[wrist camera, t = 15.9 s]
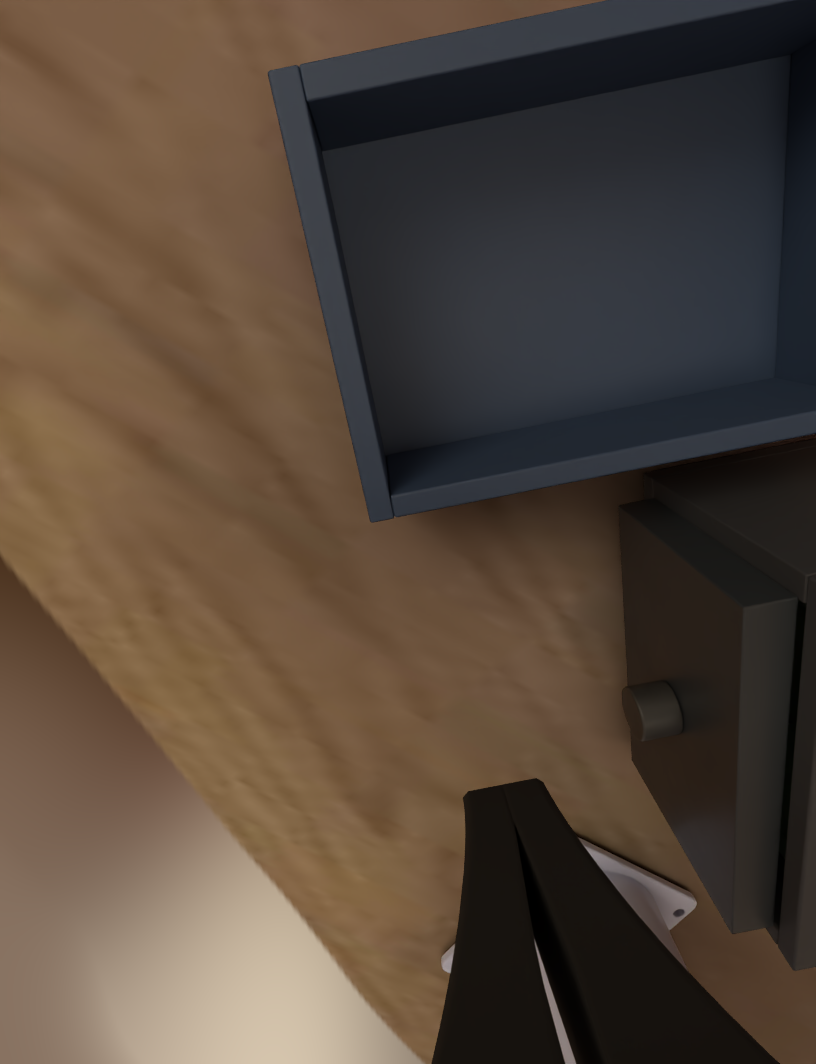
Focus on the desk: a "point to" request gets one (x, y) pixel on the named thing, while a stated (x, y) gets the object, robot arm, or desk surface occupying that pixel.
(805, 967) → the cabinet
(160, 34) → the desk surface
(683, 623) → the drawer
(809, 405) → the box
